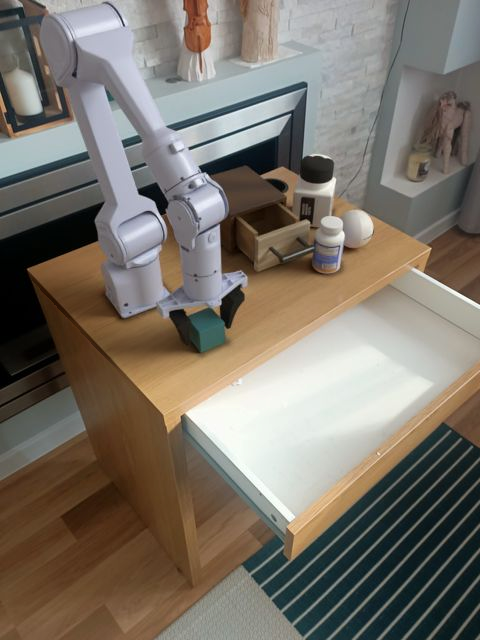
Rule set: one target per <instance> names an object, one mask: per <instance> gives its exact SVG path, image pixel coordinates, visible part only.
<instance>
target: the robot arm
mask: <svg viewBox="0 0 480 640" xmlns="http://www.w3.org/2000/svg"><path fill="white" fill-rule="evenodd" d="M38 38H39V43H40V46H41V48H42V51H43V54H44V56H45V59H46V63H47V65H48V68H49V70H50V73H51V75H52V77H53V80H54V82H55V85H56V86H57V87H60V88H64V90H65V93H66V95H67V98H68V101H69V105H70V106H71V109H72V112H73V115H74V118H75V121H76V124H77V127H78V129H79V132H80V134H81V138H82V140H83V143H84V146H85V148H86V152H87V154H88V157H89V160H90V162H91V165H92V168H93V171H94V173H95V176H96V179H97V182H98V185H99V188H100V190H101V192H102V196H103V199H104V203H103V205H102V207H101V209H100V210H99V211H98V213H97V215H96V216H95V219H94V225H95V228H96V231H97V232H96V233H97V241H98V244H99V245H98V246H99V248H100V250H101V252H102V253H103V255H104V256H105V258H106V259H107V260H105V261H103V262H101V263H100V271H101V275H102V279H103V285H104V288H105V296H106V298H108V300H109V301H110V303H111V304H112V306H113V307H114V308H115V310H116V311H117V312H118V314H119V315H120V317H121V318H122V319H127V318H130V317H133V316H135V315H138V314H140V313H143V312H146V311H148V310H151V309H154V308H156V312H157V313H158V314H159V316H160V317H161V318H162V320H165V319H168V318H169V319H170V320H171V322H172V323H173V325H174V327H175V328H176V330H177V333H178V335H179V338H180V341H181V342H182V344H183V345H184V346H185V347H189V346H191V342H192V341H191V340H190V324H191V320H190V318H189V317H188V315H187V311H186V310H185V309H192V308H193V309H194V308H199V307H200V308H201V307H207V308H208V307H209V308H211V309H215V308H218V307H219V317H220V318H221V319H222V320H223V321H224V323H225V329H226V330H229V329H231V328H232V324H233V321H234V319H235V316H236V315H237V314H236V313H237V311H238V310H239V308H240V306H241V305H242V304H243V303H244V302H245V299H246V295H245V292H244V291H243V290H242V289H244V288H246V287H248V276H247V275H246V274H245V273H244V272H243V271H242V270H241V269H240V270H237V271H233V272H228V273H227V272H226V273H222V249H221V248H222V247H221V245H222V244H221V243H220V224H219V222H221V221H222V220H223V219H225V218H226V217H227V215H228V210H229V207H228V201H227V198H226V196H225V194H224V191H223V189H222V188H221V187H220V185H219V184H217V183H216V182H215V181H213V180H212V179H211V178H210V177H209V176H210V175H209V174H208V173H207V172H202V171H201V169H200V167H199V165H198V163H197V162H196V160H195V158H194V156H193V154H192V153H191V151H190V148H189V147H188V145H187V144H186V142H185V140H184V138H183V136H182V135H181V133H180V132H179V131H177V130H174V129H172V128H169V127H167V126H166V123H165V121H164V119H163V117H162V116H161V113H160V111H159V109H158V107H157V104H156V102H155V100H154V97H153V96H152V94H151V91H150V90H149V87H148V86H147V83H146V81H145V79H144V77H143V75H142V72H141V70H140V68H139V66H138V64H137V62H136V60H135V58H134V56H135V49H136V48H135V47H136V46H135V45H136V43H135V35H134V33H133V31H132V30H131V28H130V24H129V21H128V18H127V17H126V15H125V13H124V12H123V11H122V9H121V7H119V6H118V5H117V4H116V3H115V2H113V1H111V0H105V1H102V2H101V3H98V4H94V5H89V6H85V7H80V8H76V9H71V10H67V11H63V12H57V13H47V14H45V15H44V16H43V17H42V19H41V24H40V30H39V36H38ZM105 88H106V89H107V91H108V92H109V94H110V95H111V97H112V99H113V100H114V101H115V103H116V104H117V106H118V107H119V108H120V110H121V112H122V113H123V114H124V116H125V117H126V119H127V120H128V122H129V123H130V125H131V126H132V127H133V129H134V130H135V132H136V133H137V135H138V136H139V137H140V139H141V150H140V155H141V158H142V159H143V161H144V163H145V164H146V166H147V168H148V170H149V171H150V174H151V175H152V176H153V178H154V180H155V181H156V183H157V186H158V187H159V188H160V190H161V192H162V193H163V195H164V197H165V199H166V201H167V203H168V205H167V208H165V213H166V217H167V219H168V222H169V224H170V226H171V227H172V230H173V235H174V239H175V241H176V243H177V244H178V245H179V246H178V247H179V256H180V265H181V267H180V268H181V277H182V285H180V286H179V287H178V288H176V289H175V290H174V291H172V292H171V293H170V292H169V290H167V288H166V287H165V286H164V283H163V276H162V269H161V261H160V254H159V253H160V252H161V251H162V250H163V248H162V245H163V243H165V242H166V241H167V239H168V228H167V225H166V222H165V220H164V218H163V217H162V215H161V214H160V212H159V210H158V208H157V204H156V202H155V201H154V200H152V199H151V198H149V197H147V196H144V195H141V194H139V191H138V188H137V185H136V182H135V179H134V176H133V173H132V170H131V167H130V164H129V160H128V157H127V155H126V151H125V147H124V145H123V142H122V138H121V136H120V132H119V130H118V126H117V122H116V120H115V117H114V114H113V111H112V107H111V105H110V102H109V98H108V95H107V92H106V89H105Z"/></svg>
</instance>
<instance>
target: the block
mask: <svg viewBox="0 0 480 640" xmlns="http://www.w3.org/2000/svg"><path fill="white" fill-rule="evenodd" d="M187 316H188V317H189V318H190V320H191V324H190V340H191V342H192V344H193V345H194V346H195V348H196V349H197V350H198V351H199V352H200V354H202V353H205V352H207V351H210V350H211V349H214V348H216V347H218V346H222V345H223V344H226V327H225V323H224V321H223V320H222V319H221V318H220V315H218V313H217V311H215V310H214V308H212V309H211V308H209V307H208V306H207V307H206V308H204V309H201V310H199V311H196V312H193V313H191V314H188V315H187Z"/></svg>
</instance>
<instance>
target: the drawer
mask: <svg viewBox="0 0 480 640" xmlns="http://www.w3.org/2000/svg"><path fill="white" fill-rule="evenodd" d="M310 231H311V227H310V222H309V221H308V220H307V219H306V220H303V221H300V222H299V217H297V216H296V215H295V214H294V213H292V210H290V209H289V208H288V207H287V206H286V207H285V206H283V205H282V204H281V203H277V204H274V205H270V206H267V207H264V208H261V209H258V210H255V211H252V212H249V213H246V214H243V215H240V216H237V217H234V239H235V245H236V246H237V247H238V248H239V249H240V251H241V252H242V253H243V254H244V255H245V256H246V257H247V258H248V259H249V260H251V262H252V263H254V264H253V267H254V268H253V269H254V270H255V271H256V272H258V273H259V272H261V271H264V270H266V269H269V268H272V267H274V266H276V265H279V264H280V265H284V264H286V263H290V262H292V261H295V260H297V259H299V258H302V257H305V256H307V255H310V254H313V252H314V251H315V247H314V244H309V242H310V241H309V239H310Z"/></svg>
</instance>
